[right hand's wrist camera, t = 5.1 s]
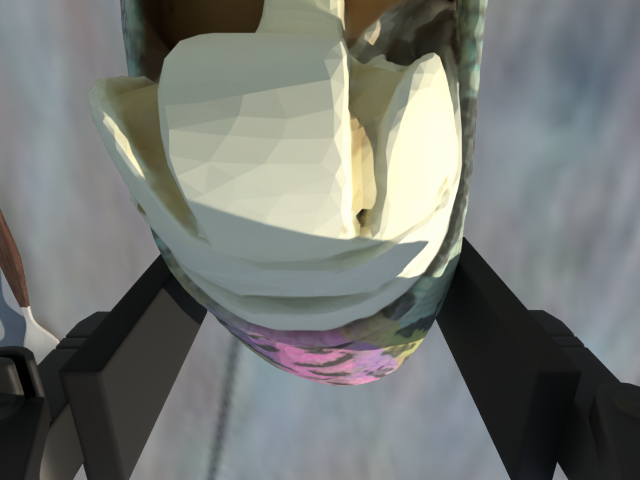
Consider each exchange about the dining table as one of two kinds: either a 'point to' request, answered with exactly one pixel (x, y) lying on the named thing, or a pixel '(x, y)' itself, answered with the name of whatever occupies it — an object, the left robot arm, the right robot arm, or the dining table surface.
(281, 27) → the shoe
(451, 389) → the dining table surface
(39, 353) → the fork
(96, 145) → the dining table surface
